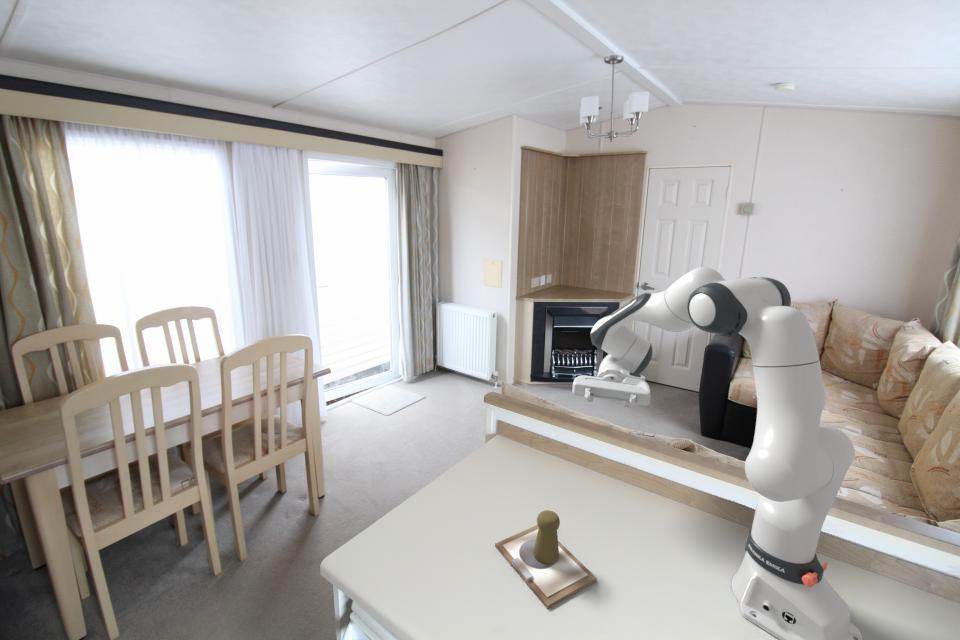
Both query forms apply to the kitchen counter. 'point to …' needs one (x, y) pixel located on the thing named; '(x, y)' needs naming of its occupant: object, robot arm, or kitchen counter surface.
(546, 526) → the cork
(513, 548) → the clipboard
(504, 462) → the kitchen counter surface
